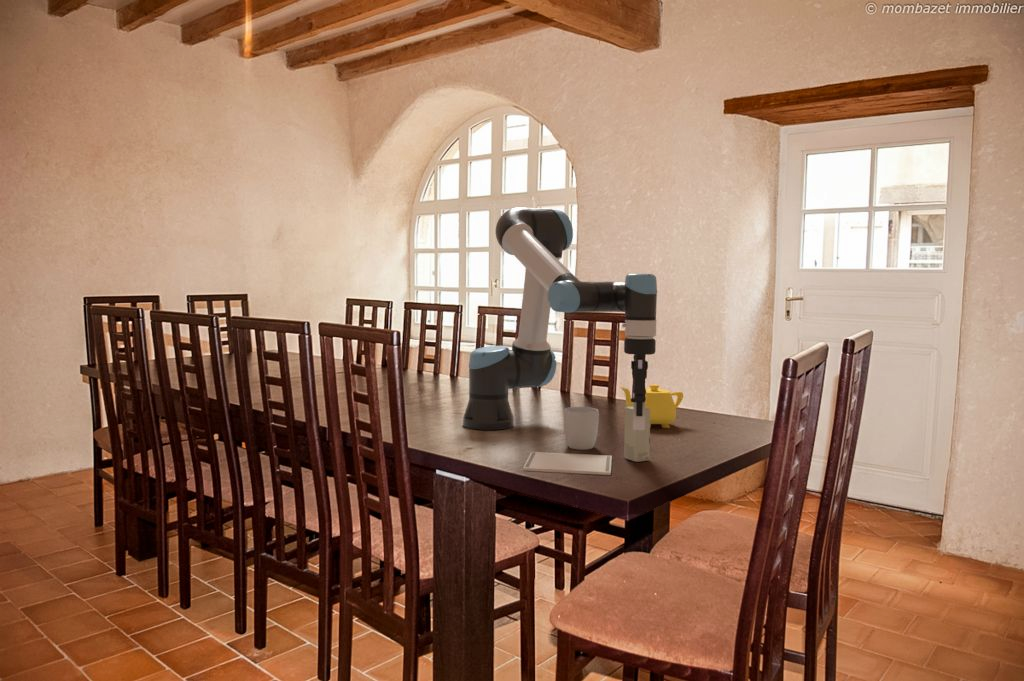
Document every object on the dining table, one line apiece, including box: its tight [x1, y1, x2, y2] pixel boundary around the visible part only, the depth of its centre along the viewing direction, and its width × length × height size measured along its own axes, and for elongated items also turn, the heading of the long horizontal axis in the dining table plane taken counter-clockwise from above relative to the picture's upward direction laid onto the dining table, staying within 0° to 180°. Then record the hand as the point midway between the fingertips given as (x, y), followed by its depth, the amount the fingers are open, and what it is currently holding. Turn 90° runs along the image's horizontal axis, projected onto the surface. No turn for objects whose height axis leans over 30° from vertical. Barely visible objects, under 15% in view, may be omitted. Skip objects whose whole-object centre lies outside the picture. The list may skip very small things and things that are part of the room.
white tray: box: [522, 451, 613, 476], centre depth 177 cm, size 16×20×1 cm
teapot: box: [619, 383, 684, 429], centre depth 225 cm, size 13×20×12 cm
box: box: [623, 406, 651, 463], centre depth 182 cm, size 5×4×13 cm
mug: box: [563, 406, 600, 451], centre depth 196 cm, size 13×9×10 cm
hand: (638, 424), depth 182 cm, fingers open, 13 cm apart
